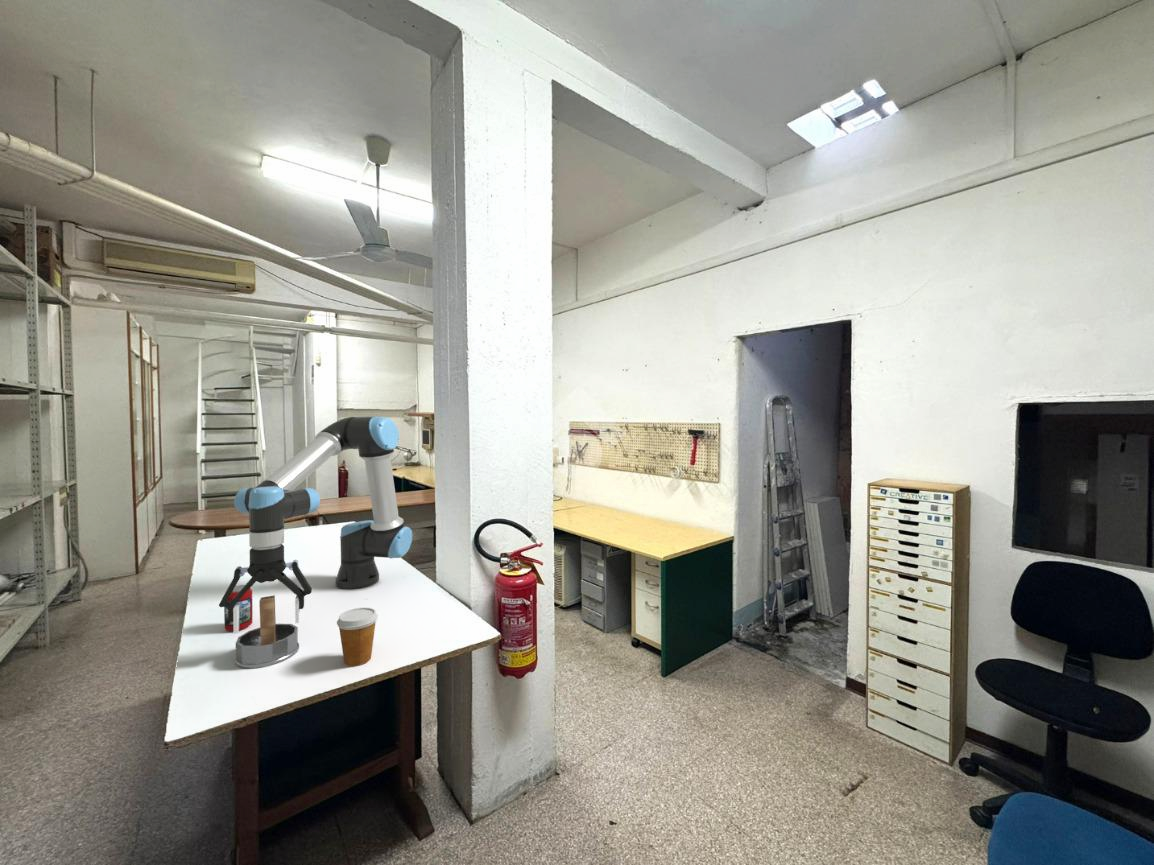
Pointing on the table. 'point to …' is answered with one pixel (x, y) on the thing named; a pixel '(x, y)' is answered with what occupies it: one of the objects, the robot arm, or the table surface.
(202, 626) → the table surface
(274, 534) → the robot arm
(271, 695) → the table surface
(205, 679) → the table surface
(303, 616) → the table surface
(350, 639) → the disposable coffee cup
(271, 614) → the long wooden beam
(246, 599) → the beverage can
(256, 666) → the tin
